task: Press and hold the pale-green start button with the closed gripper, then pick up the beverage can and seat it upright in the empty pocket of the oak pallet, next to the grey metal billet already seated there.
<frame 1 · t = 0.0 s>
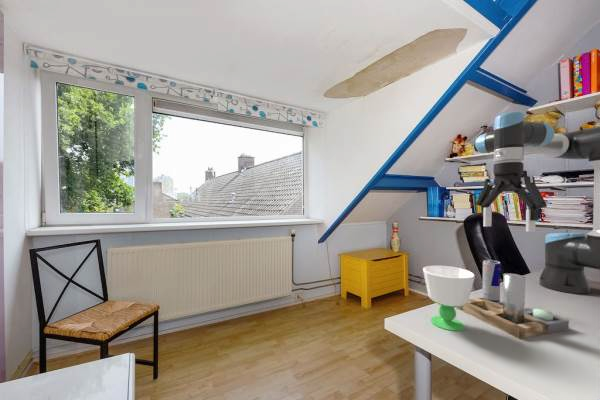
hand: (507, 228, 85), 28 cm above the table, fingers open, 13 cm apart
beverage can: (490, 302, 96), on the table
button housing: (542, 324, 79), on the table
start button: (542, 315, 79), point 3 cm above the table, slide at 0.0 cm
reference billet: (513, 326, 78), resting in pallet
cup: (447, 324, 80), on the table
pallet: (498, 319, 83), on the table
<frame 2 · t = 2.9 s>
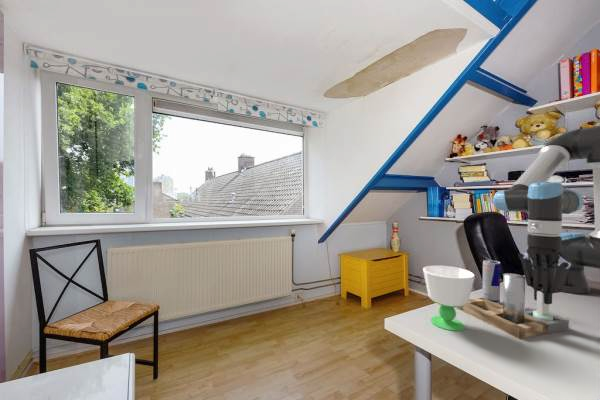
hand: (542, 313, 79), 4 cm above the table, fingers closed
start button: (542, 317, 79), point 2 cm above the table, slide at 0.6 cm, touching gripper
everything else where it was.
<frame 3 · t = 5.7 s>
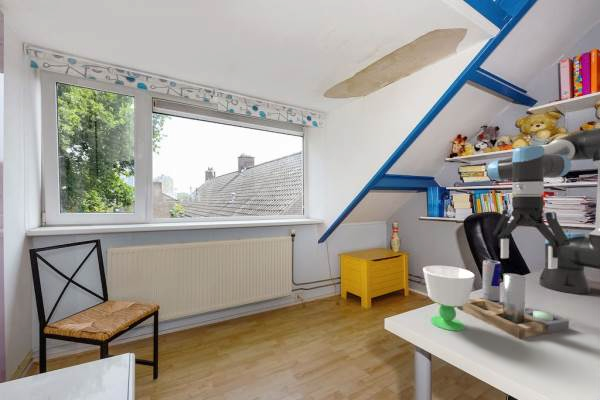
hand: (526, 262, 84), 17 cm above the table, fingers open, 13 cm apart
start button: (542, 317, 79), point 2 cm above the table, slide at 0.7 cm
everything else where it was.
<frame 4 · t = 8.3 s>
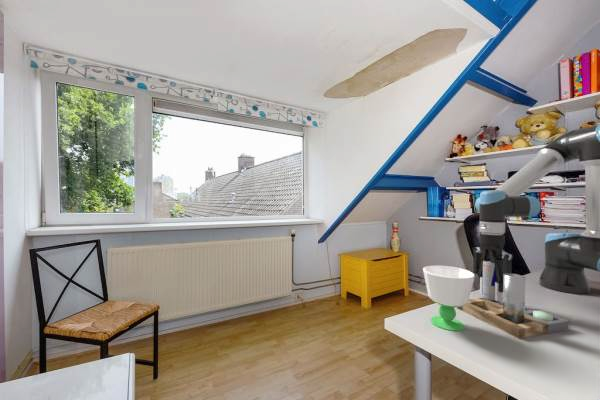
hand: (491, 297, 96), 2 cm above the table, fingers closed on beverage can, 5 cm apart
beverage can: (490, 302, 96), on the table, touching gripper
everything else where it was.
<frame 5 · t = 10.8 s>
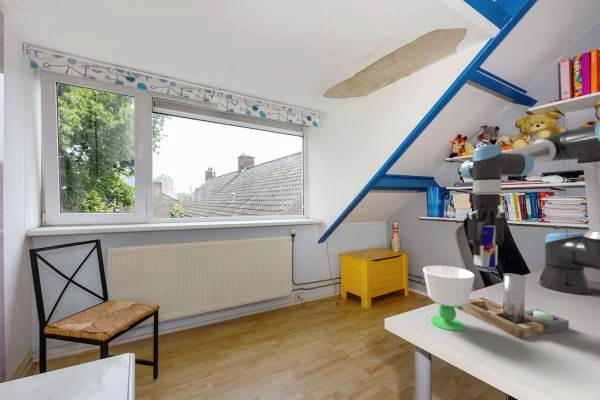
hand: (485, 264, 87), 16 cm above the table, fingers closed on beverage can, 5 cm apart
beverage can: (485, 270, 87), point 14 cm above the table, touching gripper
everything else where it was.
when the fingers open (4 cm above the table, at t = 13.2 s): beverage can drops 2 cm, resting in pallet.
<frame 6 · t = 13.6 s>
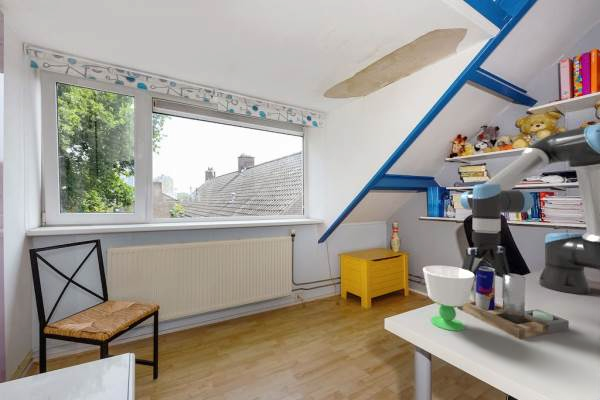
hand: (485, 298, 87), 5 cm above the table, fingers open, 11 cm apart
beverage can: (484, 313, 87), resting in pallet
everything else where it was.
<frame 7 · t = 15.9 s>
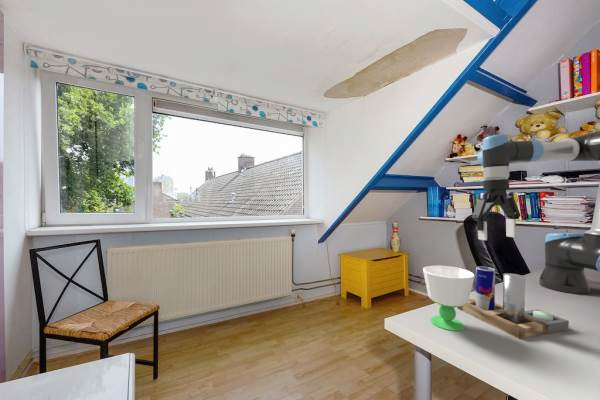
hand: (497, 238, 95), 23 cm above the table, fingers open, 13 cm apart
nothing on the table moved.
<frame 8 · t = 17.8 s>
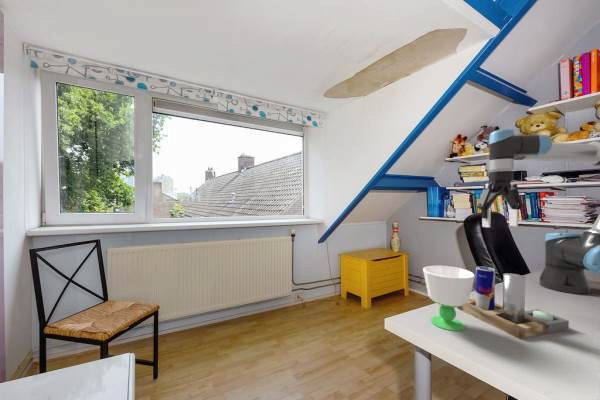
hand: (500, 226, 102), 27 cm above the table, fingers open, 13 cm apart
nothing on the table moved.
at the end: beverage can 0.1 cm from the target spot on the pallet, point 0.0 cm above the pallet's base; beverage can tilted 0°; the gripper is holding nothing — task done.
